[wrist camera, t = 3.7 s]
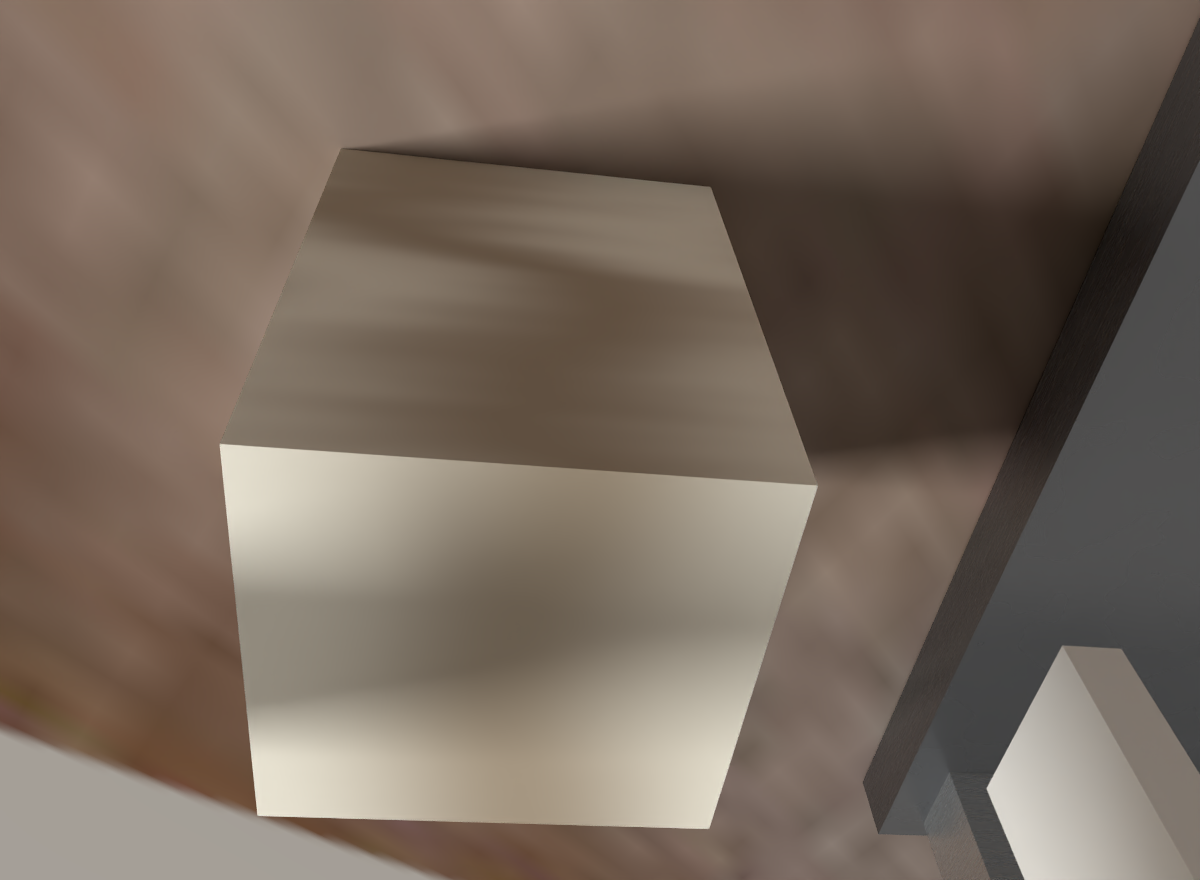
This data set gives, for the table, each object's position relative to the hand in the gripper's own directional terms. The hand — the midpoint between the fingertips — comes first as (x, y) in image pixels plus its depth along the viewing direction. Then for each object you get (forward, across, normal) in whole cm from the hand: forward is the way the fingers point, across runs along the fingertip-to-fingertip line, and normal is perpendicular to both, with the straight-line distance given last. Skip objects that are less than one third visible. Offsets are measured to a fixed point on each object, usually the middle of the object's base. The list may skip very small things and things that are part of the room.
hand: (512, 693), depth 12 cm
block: (+8, 0, +1) cm, 8 cm away
